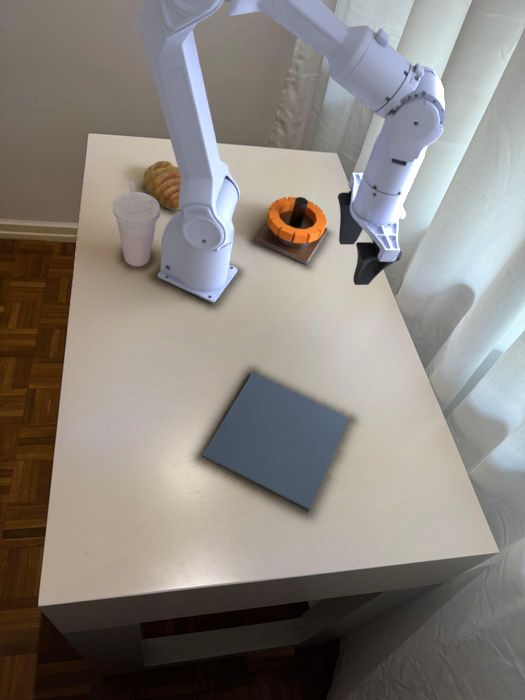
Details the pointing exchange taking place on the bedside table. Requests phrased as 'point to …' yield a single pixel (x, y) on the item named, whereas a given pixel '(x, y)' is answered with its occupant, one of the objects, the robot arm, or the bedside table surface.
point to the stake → (291, 249)
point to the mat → (277, 440)
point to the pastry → (163, 184)
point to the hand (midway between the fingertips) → (353, 262)
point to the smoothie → (136, 224)
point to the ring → (290, 232)
